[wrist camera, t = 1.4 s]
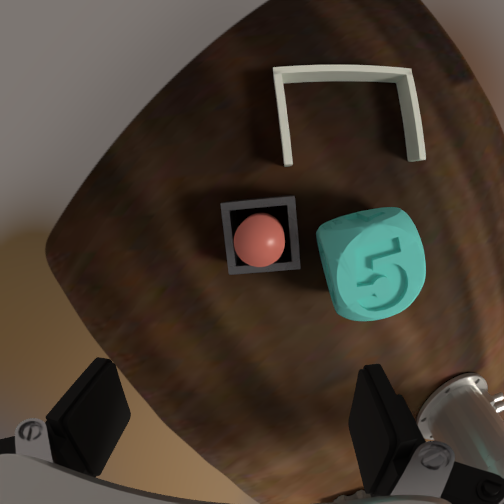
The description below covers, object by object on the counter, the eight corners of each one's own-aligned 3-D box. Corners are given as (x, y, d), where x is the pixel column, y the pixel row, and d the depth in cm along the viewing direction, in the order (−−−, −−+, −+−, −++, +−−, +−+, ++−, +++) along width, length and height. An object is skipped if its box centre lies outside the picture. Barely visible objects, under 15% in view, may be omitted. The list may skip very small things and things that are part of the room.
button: (281, 210, 27) (282, 214, 23) (285, 254, 28) (286, 264, 24) (236, 214, 27) (230, 219, 24) (241, 258, 28) (236, 268, 25)
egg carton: (388, 479, 38) (392, 495, 34) (388, 496, 39) (392, 511, 35) (330, 495, 40) (332, 512, 36) (336, 510, 41) (337, 525, 37)
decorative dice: (385, 204, 29) (418, 211, 21) (398, 276, 30) (430, 304, 22) (311, 223, 30) (323, 237, 22) (329, 297, 31) (343, 331, 23)
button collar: (292, 194, 29) (294, 196, 26) (297, 258, 31) (300, 269, 27) (227, 201, 30) (220, 203, 26) (234, 263, 31) (229, 274, 28)
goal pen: (400, 77, 25) (411, 68, 22) (413, 161, 27) (426, 159, 24) (273, 78, 27) (272, 67, 24) (284, 166, 29) (284, 164, 26)
